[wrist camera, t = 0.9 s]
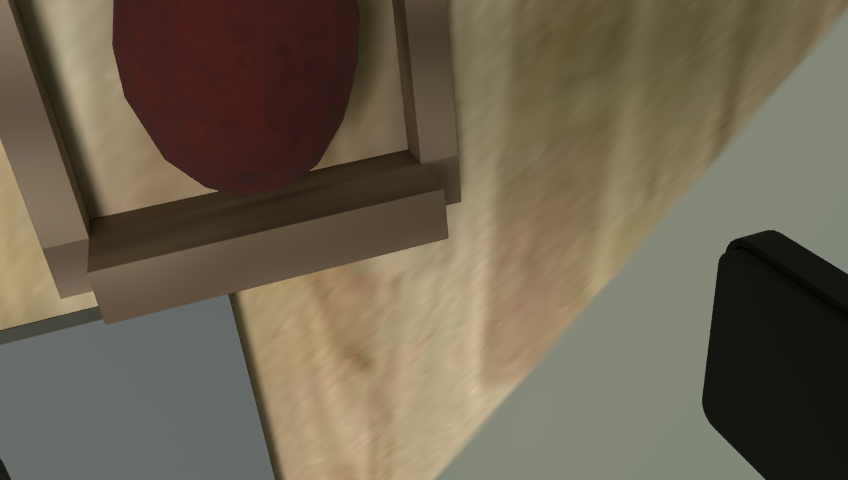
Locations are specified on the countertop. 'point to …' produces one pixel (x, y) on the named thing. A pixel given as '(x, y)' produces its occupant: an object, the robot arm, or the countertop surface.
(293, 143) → the potato
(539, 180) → the countertop surface
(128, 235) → the holder
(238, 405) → the mat
